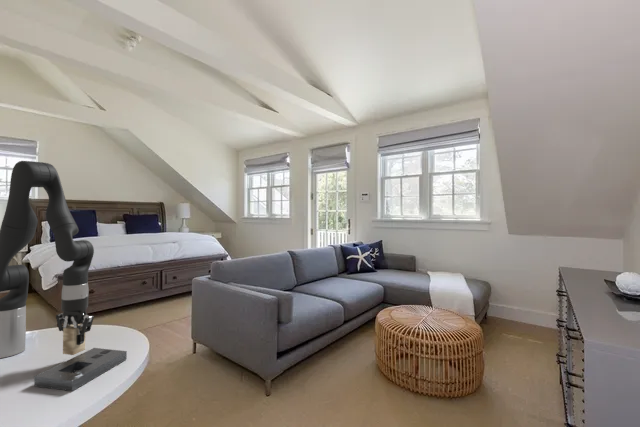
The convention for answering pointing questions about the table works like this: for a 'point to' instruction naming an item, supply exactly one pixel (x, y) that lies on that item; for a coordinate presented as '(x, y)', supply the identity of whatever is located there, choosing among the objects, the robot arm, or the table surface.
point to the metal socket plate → (80, 369)
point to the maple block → (71, 341)
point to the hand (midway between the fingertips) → (74, 343)
